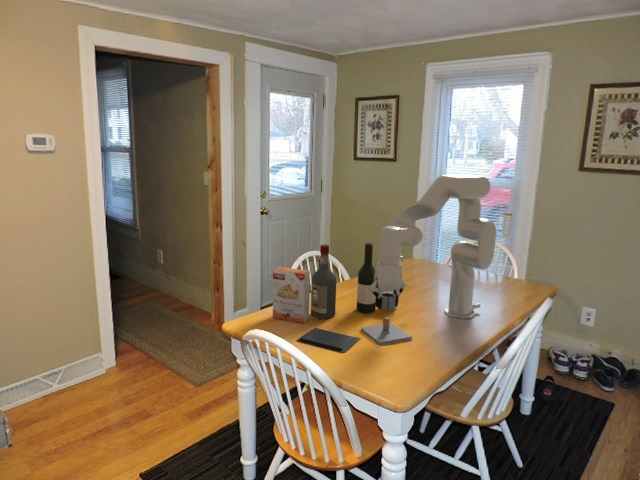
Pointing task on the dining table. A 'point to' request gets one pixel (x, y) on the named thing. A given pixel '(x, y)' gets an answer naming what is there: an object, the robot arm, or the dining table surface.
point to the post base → (386, 333)
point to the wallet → (328, 340)
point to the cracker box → (291, 294)
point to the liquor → (323, 288)
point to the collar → (388, 301)
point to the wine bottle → (366, 283)
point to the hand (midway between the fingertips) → (386, 306)
